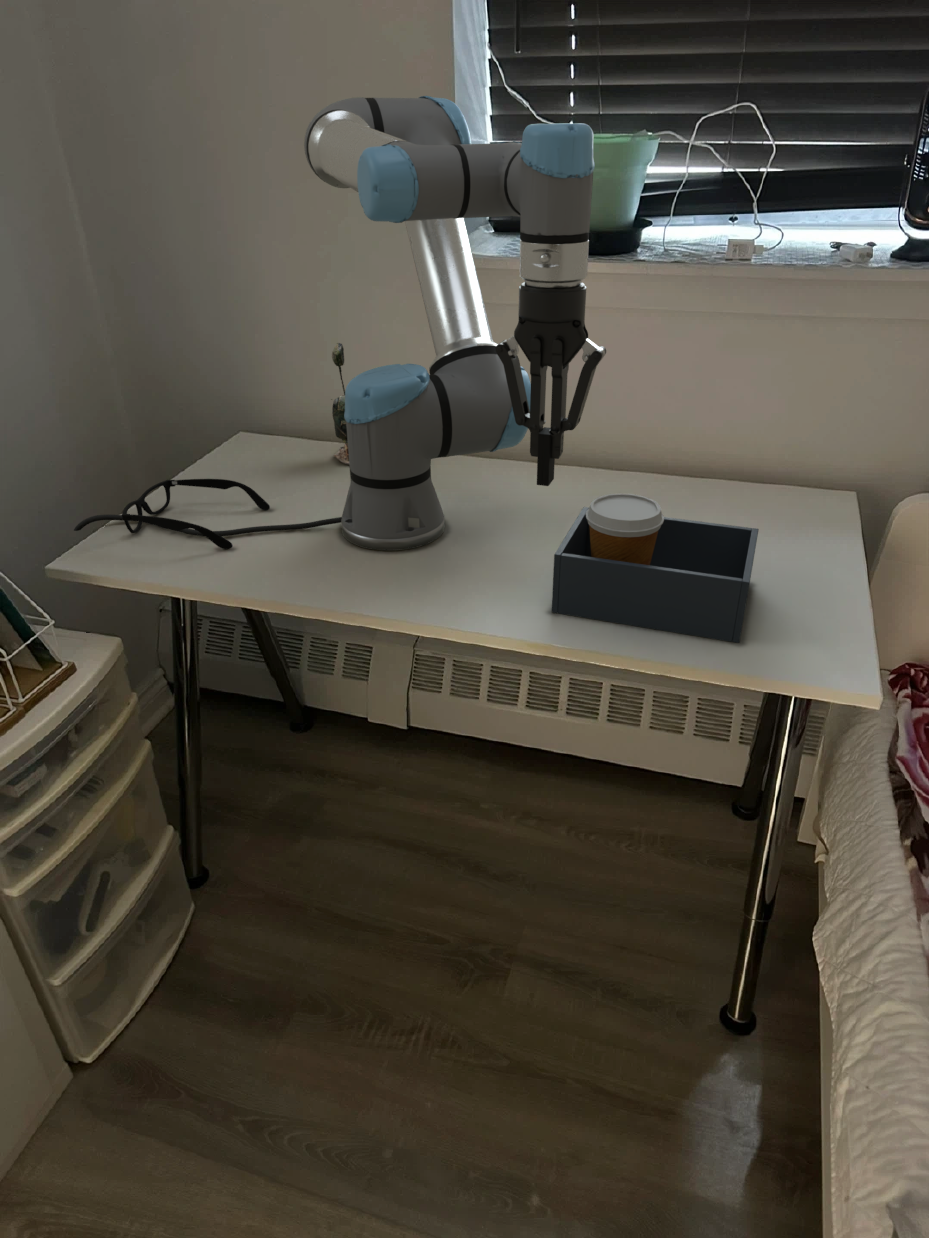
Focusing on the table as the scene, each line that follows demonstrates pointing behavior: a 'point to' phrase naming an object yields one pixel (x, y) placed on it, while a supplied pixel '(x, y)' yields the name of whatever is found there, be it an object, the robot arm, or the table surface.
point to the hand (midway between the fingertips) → (545, 481)
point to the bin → (661, 579)
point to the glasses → (182, 525)
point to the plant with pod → (340, 408)
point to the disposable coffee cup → (624, 527)
